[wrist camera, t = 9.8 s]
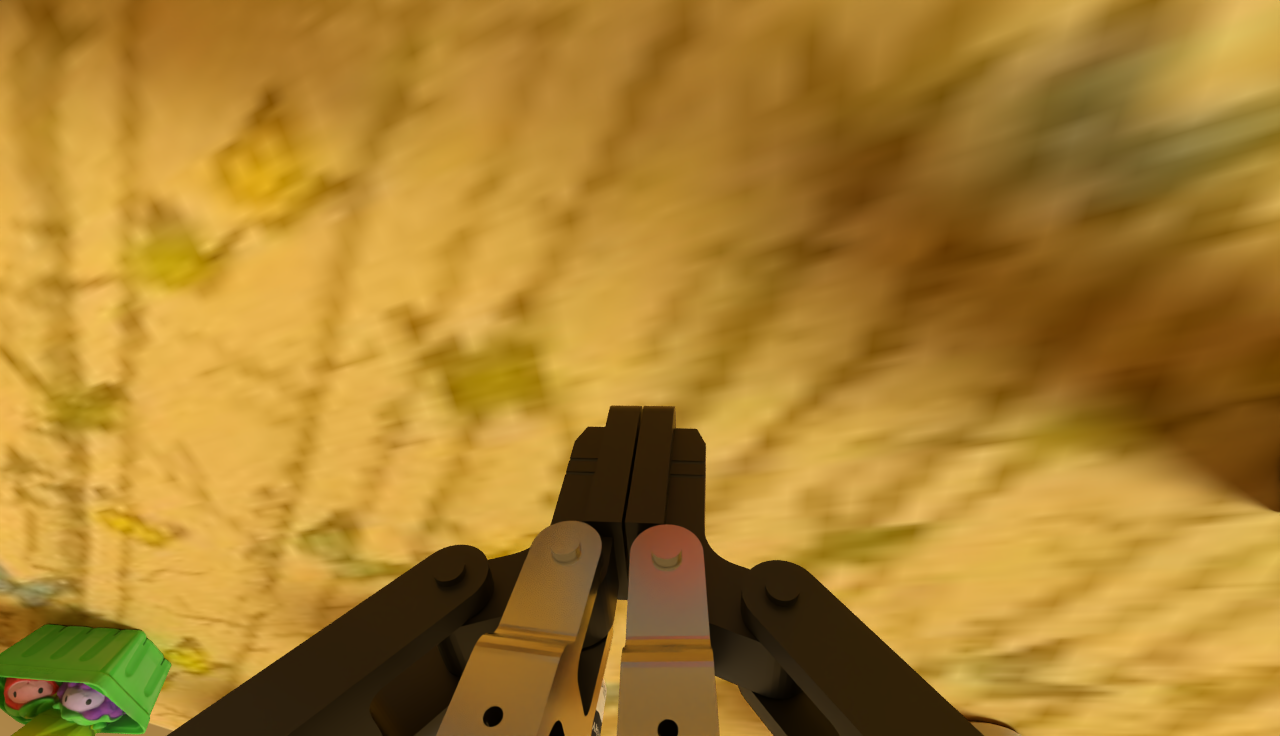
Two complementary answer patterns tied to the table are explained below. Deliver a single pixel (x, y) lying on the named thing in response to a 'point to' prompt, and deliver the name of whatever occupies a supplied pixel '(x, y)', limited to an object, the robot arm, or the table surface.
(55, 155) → the table surface
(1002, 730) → the travel mug
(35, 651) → the fruit basket
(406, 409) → the table surface
